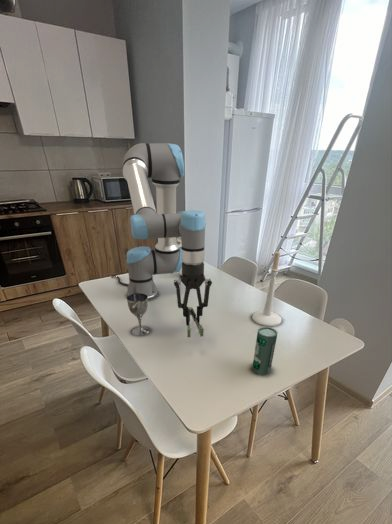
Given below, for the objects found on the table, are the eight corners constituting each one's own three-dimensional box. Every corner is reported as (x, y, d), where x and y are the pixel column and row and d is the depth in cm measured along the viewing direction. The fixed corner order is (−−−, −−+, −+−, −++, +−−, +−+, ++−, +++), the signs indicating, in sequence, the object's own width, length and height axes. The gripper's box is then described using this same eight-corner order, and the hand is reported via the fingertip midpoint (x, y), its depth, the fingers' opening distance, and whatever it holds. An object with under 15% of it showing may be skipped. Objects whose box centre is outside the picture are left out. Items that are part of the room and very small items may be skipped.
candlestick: (246, 319, 133) (254, 251, 116) (262, 310, 141) (272, 245, 124) (271, 329, 126) (284, 258, 109) (286, 318, 134) (300, 251, 117)
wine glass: (134, 337, 118) (130, 303, 110) (128, 328, 124) (124, 295, 116) (153, 333, 122) (150, 299, 113) (146, 324, 127) (143, 291, 119)
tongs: (182, 313, 120) (182, 306, 119) (196, 312, 121) (196, 305, 119) (187, 337, 105) (187, 330, 103) (203, 336, 105) (203, 329, 103)
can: (253, 362, 106) (259, 325, 97) (271, 365, 104) (278, 328, 96) (251, 372, 101) (256, 334, 92) (269, 376, 99) (276, 338, 91)
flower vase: (184, 283, 167) (184, 237, 153) (171, 273, 180) (169, 230, 167) (204, 280, 172) (206, 235, 158) (190, 270, 186) (190, 228, 172)
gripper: (215, 258, 103) (212, 318, 116) (167, 259, 102) (170, 319, 115) (219, 264, 97) (215, 327, 110) (168, 266, 96) (171, 329, 108)
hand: (192, 323), depth 112 cm, fingers closed on tongs, 3 cm apart
